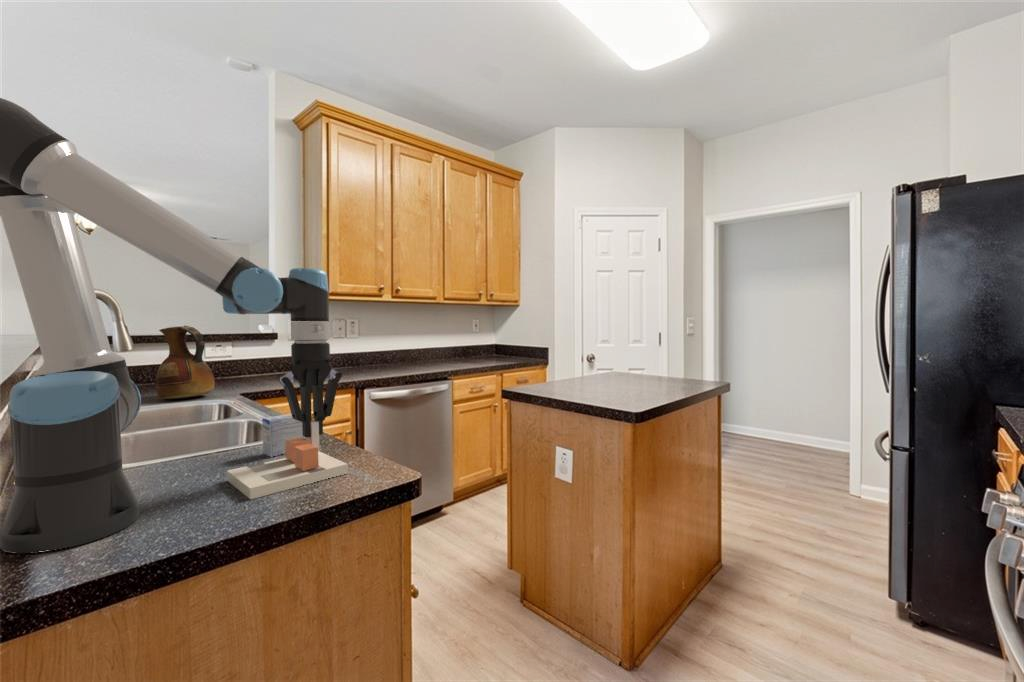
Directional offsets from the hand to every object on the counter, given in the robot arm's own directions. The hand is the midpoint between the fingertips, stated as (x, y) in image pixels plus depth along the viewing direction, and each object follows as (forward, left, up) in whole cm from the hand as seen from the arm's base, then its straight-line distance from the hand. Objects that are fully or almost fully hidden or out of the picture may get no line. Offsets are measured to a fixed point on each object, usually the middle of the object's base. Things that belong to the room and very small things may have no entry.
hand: (313, 450), depth 98 cm
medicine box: (0, +15, -4) cm, 16 cm away
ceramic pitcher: (+2, +127, -3) cm, 127 cm away
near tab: (-4, -7, -1) cm, 8 cm away
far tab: (-3, 0, -1) cm, 4 cm away
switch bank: (-6, -4, -3) cm, 8 cm away
